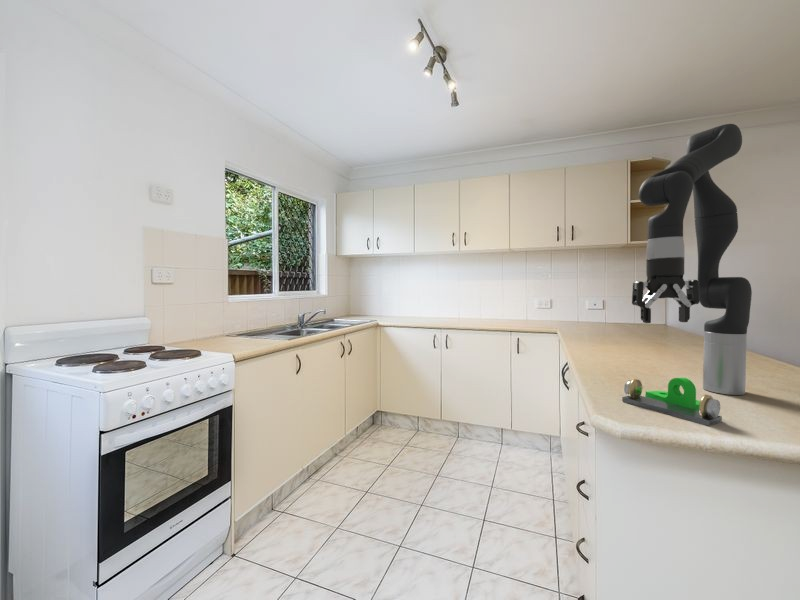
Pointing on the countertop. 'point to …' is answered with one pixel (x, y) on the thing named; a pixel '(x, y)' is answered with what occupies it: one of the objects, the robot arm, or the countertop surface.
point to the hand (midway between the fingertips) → (664, 322)
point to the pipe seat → (704, 415)
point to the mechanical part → (677, 394)
